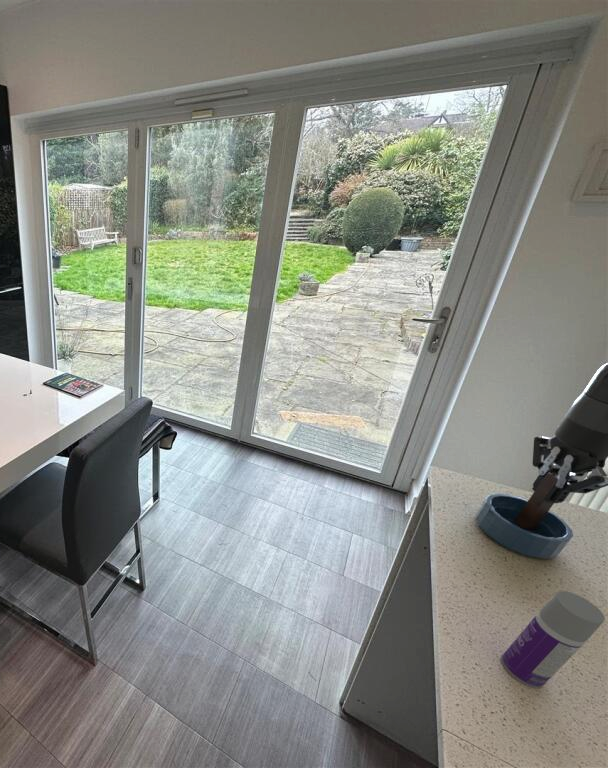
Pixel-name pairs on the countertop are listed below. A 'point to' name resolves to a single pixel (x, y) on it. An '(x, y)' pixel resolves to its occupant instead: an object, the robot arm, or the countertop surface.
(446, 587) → the countertop surface
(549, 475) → the stirring stick
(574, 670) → the countertop surface
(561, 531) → the bowl
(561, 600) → the container
